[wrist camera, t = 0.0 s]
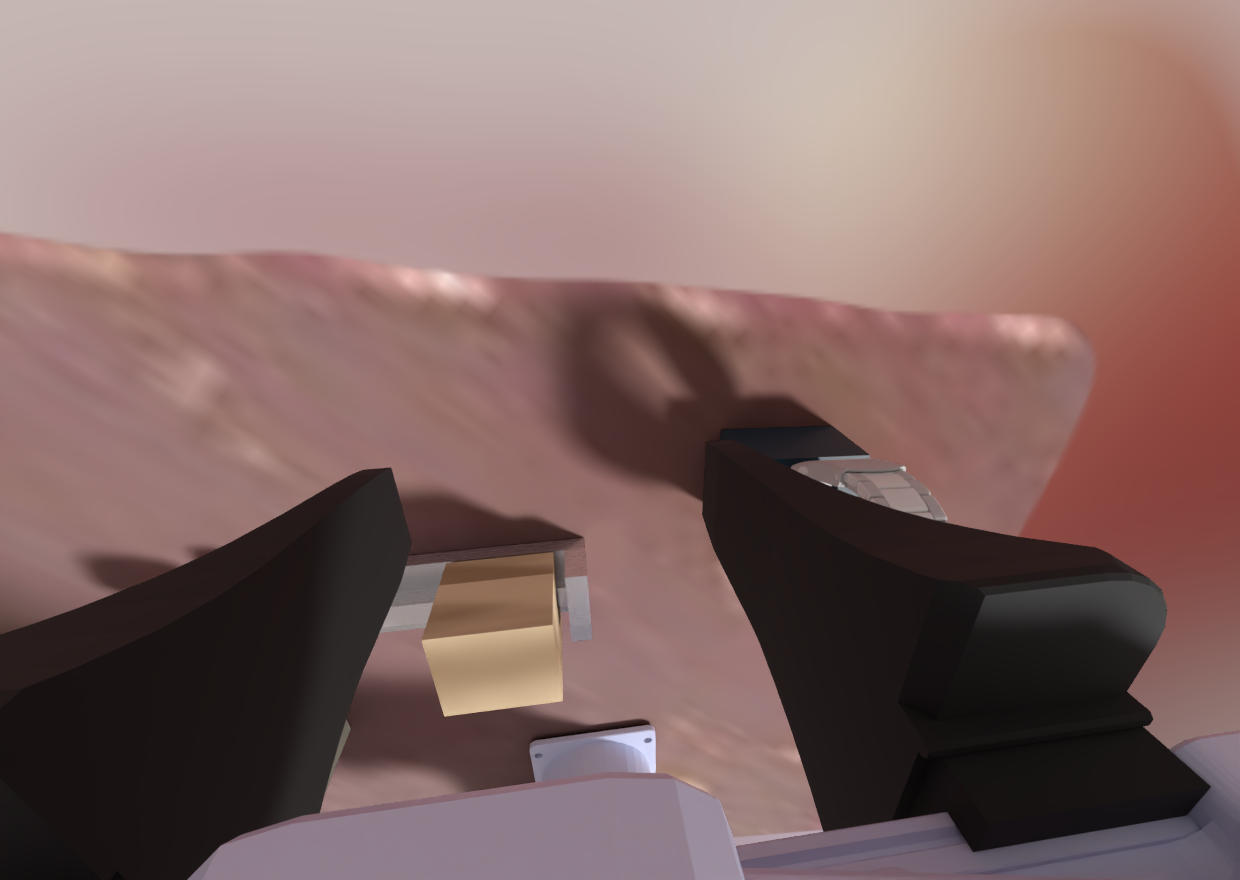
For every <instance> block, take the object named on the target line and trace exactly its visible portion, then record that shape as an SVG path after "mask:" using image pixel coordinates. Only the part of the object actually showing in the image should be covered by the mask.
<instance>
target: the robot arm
mask: <svg viewBox="0 0 1240 880" xmlns="http://www.w3.org/2000/svg"><path fill="white" fill-rule="evenodd" d="M702 515H703V518H704V521H705V524H706V528H707V531H708V534H709V537H710V540H711V543H712V546H713V548H714V551H715V553H716V555H717V557H718V559H719V561H720V563H721V565H722V567H723V569H724V571H725V573H726V575H727V577H728V579H729V581H730V583H731V585H732V587H733V589H734V591H735V593H736V595H737V597H738V599H739V601H740V603H741V605H742V607H743V609H744V611H745V613H746V615H747V617H748V619H749V621H750V623H751V625H752V627H753V629H754V631H755V634H756V636H757V638H758V640H759V642H760V645H761V648H762V650H763V653H764V656H765V658H766V661H767V664H768V666H769V669H770V672H771V674H772V677H773V680H774V682H775V685H776V688H777V691H778V694H779V696H780V699H781V702H782V705H783V708H784V711H785V713H786V716H787V719H788V722H789V725H790V728H791V731H792V734H793V737H794V740H795V743H796V746H797V749H798V752H799V755H800V758H801V761H802V764H803V767H804V770H805V773H806V776H807V780H808V783H809V786H810V789H811V792H812V795H813V799H814V802H815V805H816V808H817V812H818V815H819V818H820V822H821V825H822V828H823V832H820V833H814V834H808V835H802V836H795V837H789V838H783V839H776V840H770V841H764V842H758V843H752V844H746V845H739V846H735V843H734V839H733V835H732V832H731V829H730V827H729V824H728V821H727V819H726V816H725V813H724V811H723V808H722V805H721V803H720V800H719V799H717V798H715V797H713V796H712V795H710V794H708V793H707V792H705V791H703V790H701V789H698V788H696V787H694V786H692V785H690V784H688V783H686V782H683V781H681V780H679V779H677V778H675V777H673V776H671V775H669V774H666V773H656V756H655V729H654V727H653V726H651V725H643V726H636V727H629V728H621V729H614V730H607V731H599V732H592V733H585V734H578V735H570V736H563V737H556V738H549V739H541V740H536V741H533V742H532V743H531V744H530V756H531V761H532V767H533V772H534V777H535V782H534V783H527V784H520V785H513V786H506V787H499V788H492V789H485V790H478V791H471V792H464V793H457V794H450V795H443V796H436V797H429V798H422V799H415V800H408V801H401V802H394V803H388V804H381V805H374V806H367V807H360V808H353V809H346V810H339V811H332V812H325V813H320V810H321V806H322V802H323V798H324V794H325V791H326V787H327V784H328V780H329V776H330V773H331V769H332V766H333V762H334V759H335V755H336V752H337V748H338V745H339V741H340V738H341V735H342V731H343V728H344V725H345V722H346V719H347V715H348V712H349V709H350V706H351V702H352V699H353V696H354V693H355V690H356V688H357V685H358V682H359V680H360V677H361V675H362V672H363V670H364V667H365V665H366V663H367V660H368V658H369V656H370V653H371V651H372V649H373V647H374V644H375V642H376V640H377V637H378V635H379V633H380V630H381V628H382V626H383V624H384V621H385V619H386V617H387V614H388V612H389V610H390V607H391V605H392V603H393V600H394V598H395V595H396V593H397V591H398V588H399V586H400V583H401V581H402V577H403V574H404V570H405V567H406V563H407V559H408V555H409V551H410V546H411V538H410V535H409V531H408V527H407V524H406V520H405V516H404V513H403V509H402V505H401V502H400V498H399V494H398V491H397V487H396V483H395V480H394V476H393V472H392V469H391V468H380V469H368V470H361V471H359V472H357V473H354V474H352V475H350V476H348V477H346V478H344V479H342V480H341V481H339V482H337V483H335V484H333V485H332V486H330V487H328V488H326V489H325V490H323V491H321V492H320V493H318V494H316V495H314V496H313V497H311V498H309V499H308V500H306V501H304V502H302V503H301V504H299V505H297V506H296V507H294V508H292V509H290V510H289V511H287V512H285V513H284V514H282V515H280V516H278V517H276V518H275V519H273V520H271V521H269V522H267V523H265V524H264V525H262V526H260V527H258V528H256V529H254V530H253V531H251V532H249V533H247V534H245V535H243V536H242V537H240V538H238V539H236V540H234V541H232V542H230V543H228V544H226V545H224V546H222V547H220V548H218V549H216V550H214V551H212V552H210V553H208V554H206V555H204V556H202V557H200V558H198V559H195V560H193V561H191V562H189V563H187V564H185V565H182V566H180V567H178V568H176V569H174V570H171V571H169V572H167V573H165V574H162V575H160V576H158V577H155V578H153V579H150V580H148V581H145V582H143V583H140V584H138V585H135V586H133V587H130V588H128V589H125V590H123V591H120V592H118V593H115V594H113V595H110V596H108V597H105V598H103V599H100V600H98V601H95V602H93V603H90V604H88V605H85V606H82V607H80V608H77V609H74V610H71V611H69V612H66V613H63V614H60V615H57V616H54V617H52V618H49V619H46V620H43V621H40V622H37V623H35V624H32V625H29V626H26V627H23V628H20V629H17V630H14V631H11V632H8V633H5V634H2V635H0V880H1240V730H1236V731H1230V732H1223V733H1218V734H1211V735H1204V736H1197V737H1194V738H1191V739H1188V740H1184V741H1183V742H1181V743H1179V744H1177V745H1176V746H1174V747H1172V748H1171V749H1170V750H1169V749H1168V748H1166V746H1164V745H1163V744H1162V743H1161V742H1160V741H1159V740H1158V739H1156V738H1155V737H1154V736H1153V735H1152V734H1151V733H1149V731H1147V730H1146V729H1145V728H1144V727H1143V726H1148V725H1150V723H1151V722H1152V720H1153V717H1152V715H1151V712H1150V711H1149V710H1148V709H1147V708H1146V707H1144V706H1143V705H1142V704H1141V703H1139V702H1138V701H1137V700H1136V699H1135V698H1134V697H1132V696H1131V695H1130V694H1129V693H1128V692H1127V690H1128V689H1129V687H1130V685H1131V684H1132V682H1133V681H1134V679H1135V678H1136V676H1137V674H1138V673H1139V671H1140V670H1141V668H1142V667H1143V665H1144V663H1145V662H1146V660H1147V659H1148V657H1149V655H1150V654H1151V652H1152V651H1153V649H1154V648H1155V646H1156V644H1157V642H1158V640H1159V638H1160V636H1161V634H1162V632H1163V630H1164V628H1165V622H1166V615H1167V607H1166V606H1167V605H1166V602H1165V599H1164V595H1163V592H1162V590H1161V589H1160V588H1159V587H1158V586H1157V585H1156V584H1155V583H1154V582H1153V581H1152V580H1150V579H1149V578H1148V577H1146V576H1144V575H1143V574H1141V573H1140V572H1138V571H1136V570H1135V569H1133V568H1132V567H1130V566H1128V565H1127V564H1125V563H1123V562H1122V561H1120V560H1119V559H1117V558H1115V557H1114V556H1112V555H1111V554H1109V553H1107V552H1105V551H1103V550H1100V549H1098V548H1095V547H1088V546H1081V545H1074V544H1067V543H1059V542H1052V541H1045V540H1038V539H1030V538H1023V537H1016V536H1010V535H1004V534H999V533H994V532H989V531H984V530H978V529H973V528H968V527H963V526H959V525H954V524H950V523H945V522H941V521H937V520H933V519H929V518H925V517H922V516H918V515H914V514H910V513H907V512H903V511H899V510H896V509H893V508H889V507H886V506H883V505H880V504H877V503H874V502H871V501H868V500H865V499H863V498H860V497H857V496H854V495H851V494H848V493H846V492H843V491H841V490H838V489H836V488H833V487H831V486H829V485H826V484H824V483H822V482H819V481H817V480H815V479H812V478H810V477H808V476H806V475H804V474H802V473H799V472H797V471H795V470H793V469H791V468H789V467H787V466H785V465H783V464H781V463H779V462H777V461H775V460H773V459H771V458H769V457H767V456H765V455H763V454H761V453H759V452H757V451H755V450H753V449H751V448H749V447H747V446H745V445H743V444H741V443H738V442H736V441H733V440H723V441H711V442H706V451H705V471H704V491H703V510H702Z"/></svg>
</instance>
